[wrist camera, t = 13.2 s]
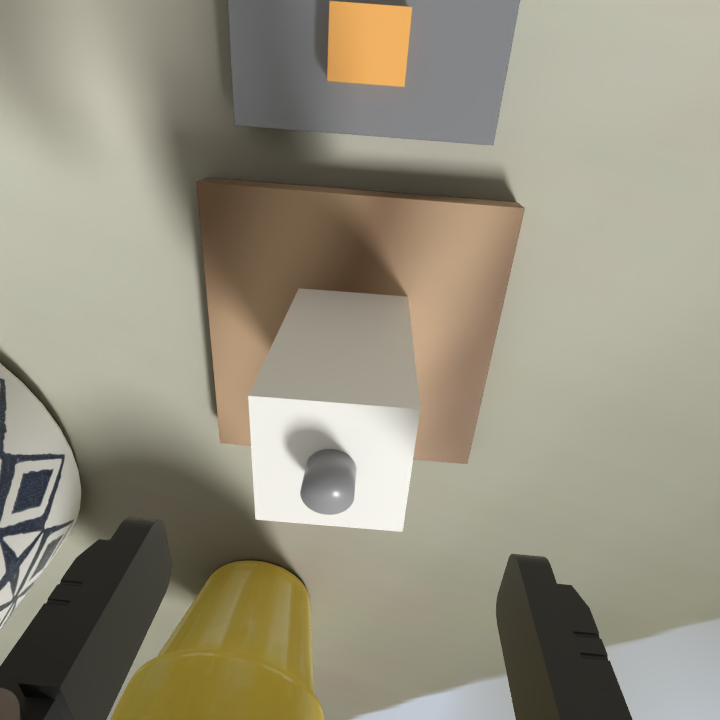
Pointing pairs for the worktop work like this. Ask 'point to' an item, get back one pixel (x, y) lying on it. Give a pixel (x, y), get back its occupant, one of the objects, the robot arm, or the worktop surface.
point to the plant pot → (233, 654)
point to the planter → (31, 490)
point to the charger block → (336, 413)
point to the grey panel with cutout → (372, 66)
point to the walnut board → (358, 286)
